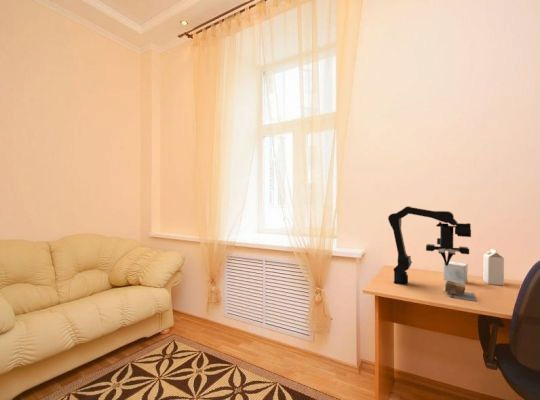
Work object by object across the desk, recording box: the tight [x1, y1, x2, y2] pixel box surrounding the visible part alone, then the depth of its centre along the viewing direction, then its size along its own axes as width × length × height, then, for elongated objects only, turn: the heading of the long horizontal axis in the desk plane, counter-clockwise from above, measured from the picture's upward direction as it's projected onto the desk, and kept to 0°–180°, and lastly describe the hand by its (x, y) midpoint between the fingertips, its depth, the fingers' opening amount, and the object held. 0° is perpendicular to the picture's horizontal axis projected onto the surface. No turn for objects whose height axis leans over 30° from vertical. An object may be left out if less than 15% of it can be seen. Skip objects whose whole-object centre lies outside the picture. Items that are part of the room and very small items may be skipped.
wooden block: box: [443, 280, 466, 296], centre depth 138 cm, size 4×4×8 cm
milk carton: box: [482, 248, 505, 286], centre depth 156 cm, size 7×7×19 cm
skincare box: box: [443, 260, 469, 285], centre depth 160 cm, size 10×6×10 cm, turn 42°
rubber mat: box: [452, 291, 477, 303], centre depth 137 cm, size 9×12×1 cm
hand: (446, 265), depth 144 cm, fingers closed
